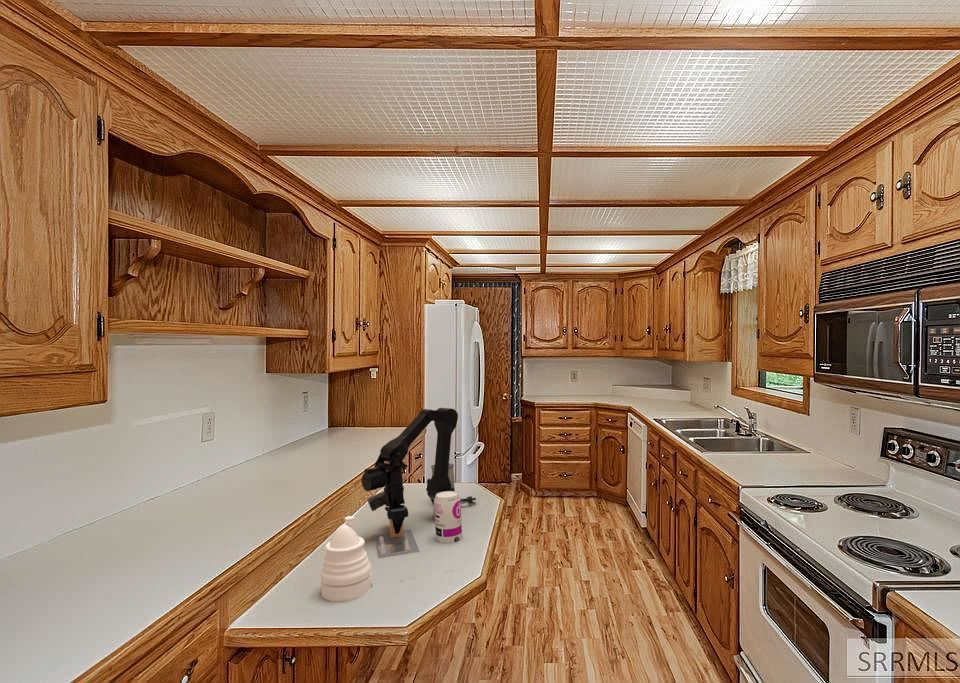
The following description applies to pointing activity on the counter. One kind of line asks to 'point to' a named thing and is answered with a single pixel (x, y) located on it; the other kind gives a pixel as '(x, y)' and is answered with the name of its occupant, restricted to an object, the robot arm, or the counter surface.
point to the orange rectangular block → (392, 531)
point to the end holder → (394, 547)
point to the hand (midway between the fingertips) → (396, 531)
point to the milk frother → (451, 477)
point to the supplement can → (448, 517)
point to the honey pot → (345, 566)
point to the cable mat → (395, 540)
